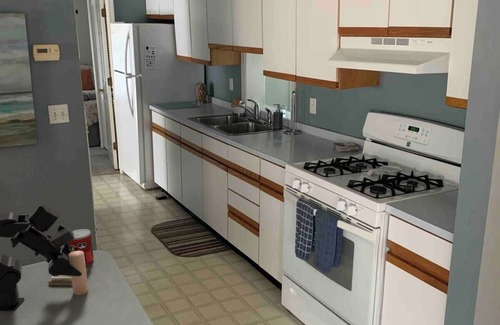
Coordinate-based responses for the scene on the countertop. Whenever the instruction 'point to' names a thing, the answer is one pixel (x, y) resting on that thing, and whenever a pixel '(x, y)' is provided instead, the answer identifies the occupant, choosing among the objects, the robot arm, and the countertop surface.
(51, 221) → the robot arm
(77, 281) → the post
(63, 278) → the socket plinth
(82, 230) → the canned food
